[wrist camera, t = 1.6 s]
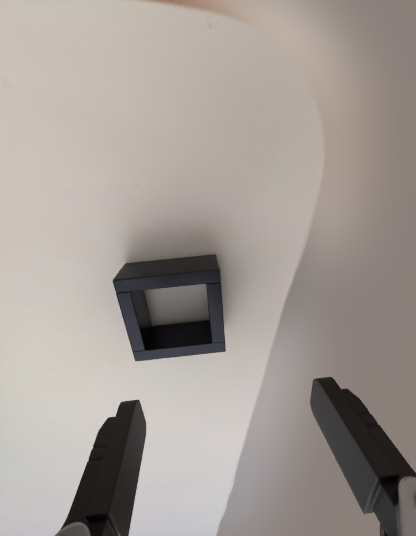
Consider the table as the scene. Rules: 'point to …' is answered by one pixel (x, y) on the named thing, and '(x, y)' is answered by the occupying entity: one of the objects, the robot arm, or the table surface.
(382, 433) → the robot arm
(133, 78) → the table surface
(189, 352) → the ring
